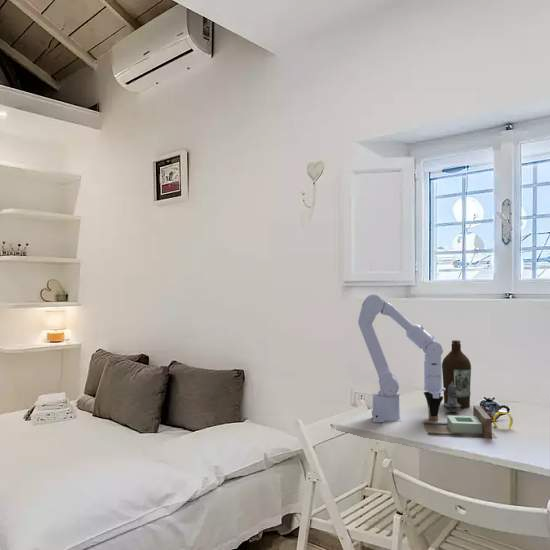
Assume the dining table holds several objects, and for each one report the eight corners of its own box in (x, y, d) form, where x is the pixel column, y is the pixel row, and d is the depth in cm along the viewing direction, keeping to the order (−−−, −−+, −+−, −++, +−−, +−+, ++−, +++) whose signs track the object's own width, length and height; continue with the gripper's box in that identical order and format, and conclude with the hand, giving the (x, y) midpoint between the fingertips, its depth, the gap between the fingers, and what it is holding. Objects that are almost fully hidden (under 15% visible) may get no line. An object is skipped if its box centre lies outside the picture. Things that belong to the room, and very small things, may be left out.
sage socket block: (452, 433, 163) (451, 423, 163) (447, 425, 171) (447, 415, 171) (482, 434, 161) (482, 424, 161) (475, 426, 170) (475, 416, 170)
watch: (510, 428, 170) (511, 410, 170) (513, 431, 168) (514, 412, 168) (491, 427, 171) (492, 409, 171) (494, 429, 168) (495, 411, 168)
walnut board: (428, 438, 160) (428, 416, 160) (422, 423, 176) (422, 404, 176) (497, 440, 157) (496, 418, 157) (484, 425, 173) (484, 405, 173)
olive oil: (437, 403, 204) (436, 339, 204) (461, 401, 207) (460, 338, 207) (452, 409, 194) (451, 342, 194) (477, 407, 196) (476, 341, 196)
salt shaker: (462, 417, 184) (462, 383, 184) (445, 416, 185) (444, 382, 185) (459, 412, 189) (459, 380, 189) (443, 412, 190) (442, 379, 191)
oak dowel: (429, 420, 177) (429, 402, 177) (427, 418, 180) (427, 400, 180) (438, 420, 177) (438, 403, 177) (437, 418, 180) (437, 401, 180)
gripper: (448, 379, 171) (449, 420, 171) (441, 371, 185) (442, 409, 185) (426, 379, 172) (426, 420, 172) (421, 371, 186) (421, 409, 186)
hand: (433, 414), depth 178 cm, fingers closed on oak dowel, 3 cm apart
